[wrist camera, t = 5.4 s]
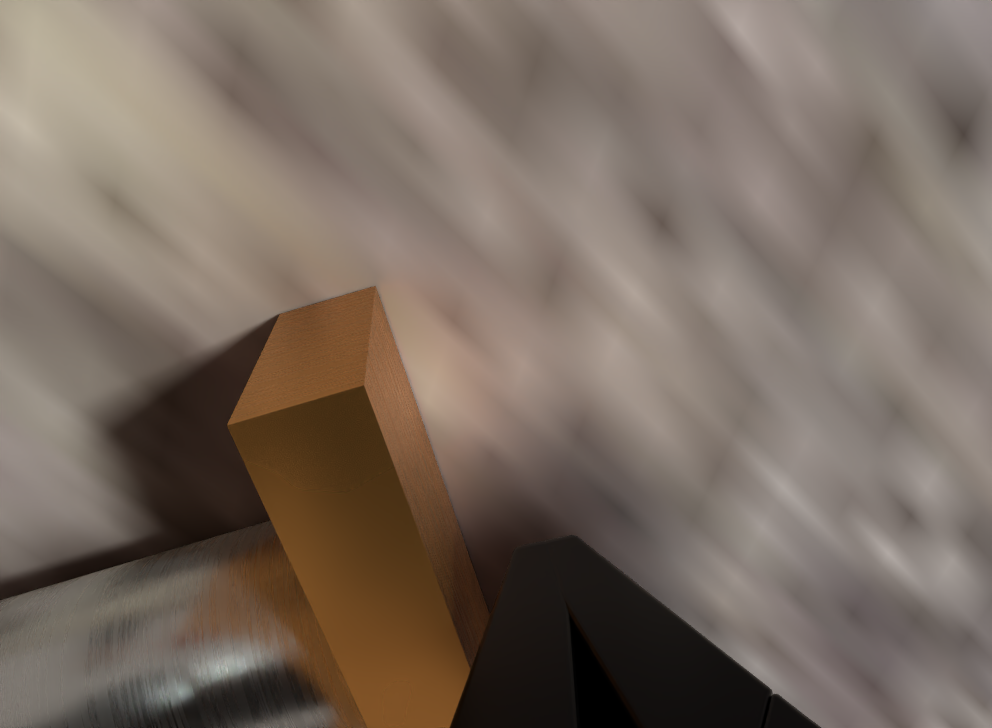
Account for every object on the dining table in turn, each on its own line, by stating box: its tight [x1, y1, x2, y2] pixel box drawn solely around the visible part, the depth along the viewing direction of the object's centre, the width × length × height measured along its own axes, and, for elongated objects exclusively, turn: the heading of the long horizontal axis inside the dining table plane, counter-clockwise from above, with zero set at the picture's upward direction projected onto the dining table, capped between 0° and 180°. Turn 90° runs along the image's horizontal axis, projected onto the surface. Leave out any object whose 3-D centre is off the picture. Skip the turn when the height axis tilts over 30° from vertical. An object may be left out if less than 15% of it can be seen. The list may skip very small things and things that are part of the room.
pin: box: [0, 286, 490, 728], centre depth 9 cm, size 10×7×3 cm
